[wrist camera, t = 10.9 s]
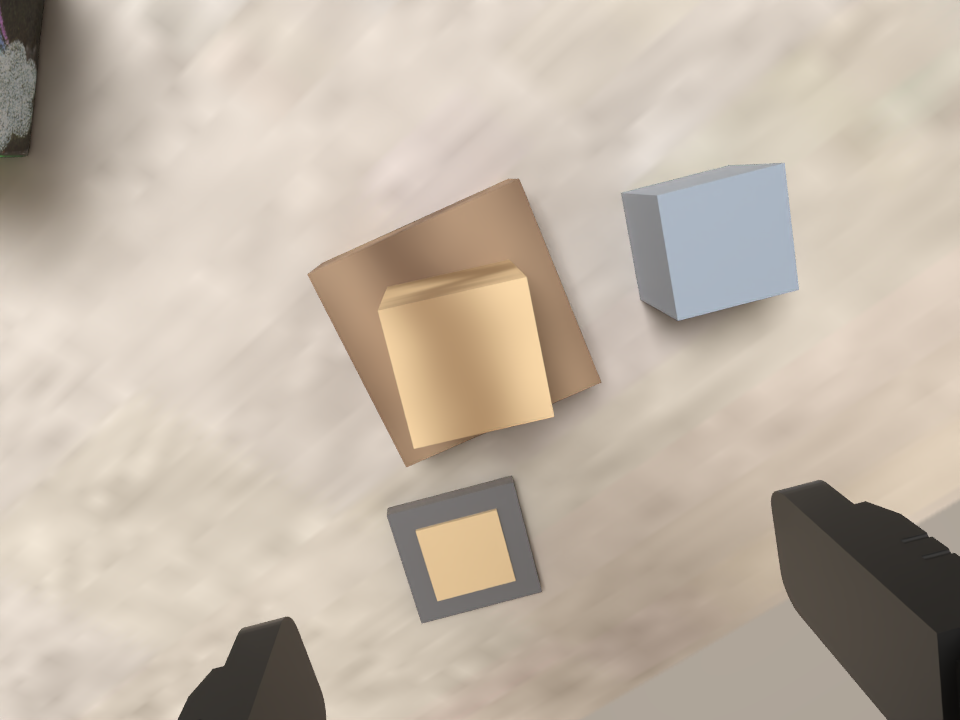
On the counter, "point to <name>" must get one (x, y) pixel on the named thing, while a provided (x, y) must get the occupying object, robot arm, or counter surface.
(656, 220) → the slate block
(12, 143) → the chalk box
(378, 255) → the base block
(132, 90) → the counter surface
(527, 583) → the tile
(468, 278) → the oak block
